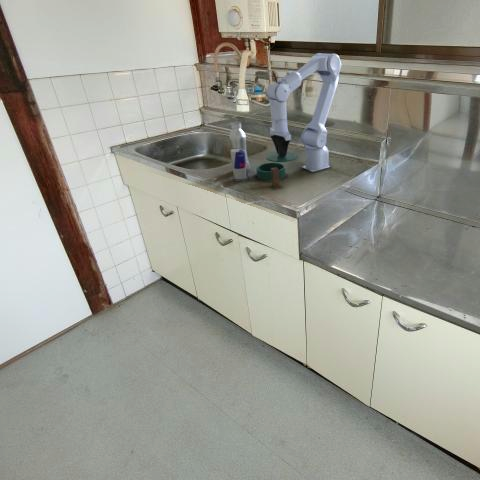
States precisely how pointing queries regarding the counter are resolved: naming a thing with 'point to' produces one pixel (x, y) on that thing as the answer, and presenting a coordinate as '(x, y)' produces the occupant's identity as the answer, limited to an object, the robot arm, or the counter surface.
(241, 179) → the energy drink
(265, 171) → the tin
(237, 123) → the plastic bottle
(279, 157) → the tin lid
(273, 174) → the stick
